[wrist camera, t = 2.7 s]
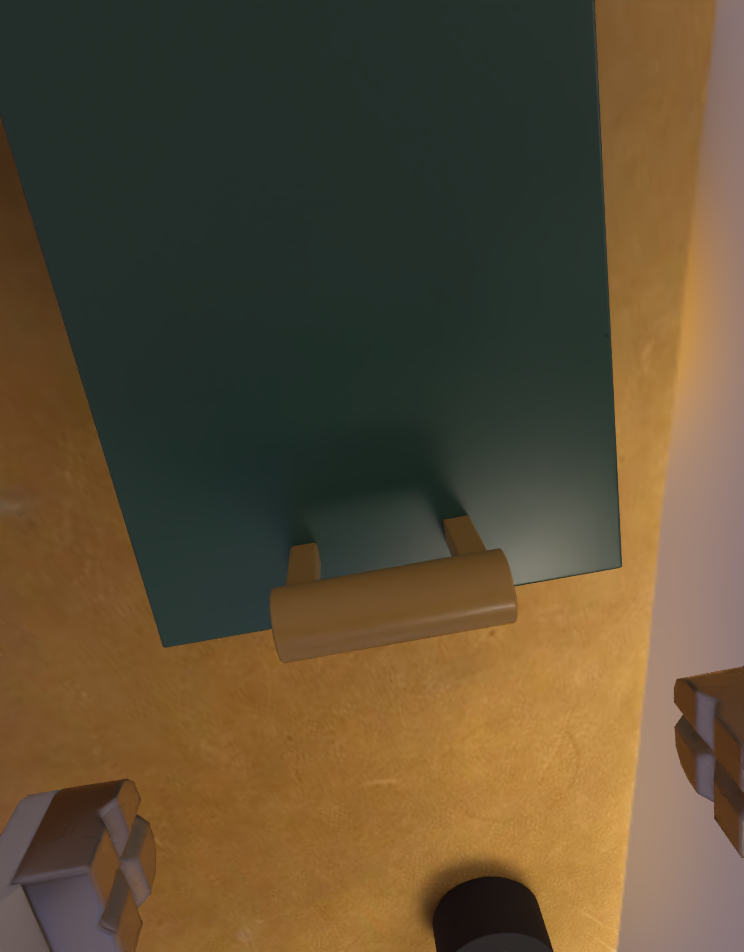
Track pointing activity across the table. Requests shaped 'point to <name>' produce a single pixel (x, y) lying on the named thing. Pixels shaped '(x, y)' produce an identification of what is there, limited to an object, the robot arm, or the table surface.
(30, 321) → the table surface
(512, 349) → the lid
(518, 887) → the tape
